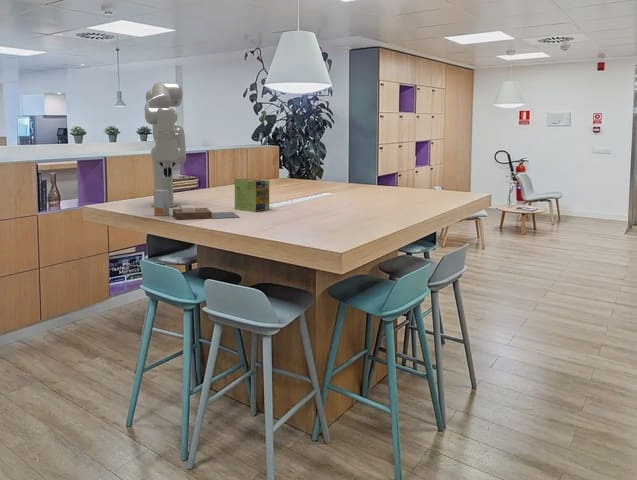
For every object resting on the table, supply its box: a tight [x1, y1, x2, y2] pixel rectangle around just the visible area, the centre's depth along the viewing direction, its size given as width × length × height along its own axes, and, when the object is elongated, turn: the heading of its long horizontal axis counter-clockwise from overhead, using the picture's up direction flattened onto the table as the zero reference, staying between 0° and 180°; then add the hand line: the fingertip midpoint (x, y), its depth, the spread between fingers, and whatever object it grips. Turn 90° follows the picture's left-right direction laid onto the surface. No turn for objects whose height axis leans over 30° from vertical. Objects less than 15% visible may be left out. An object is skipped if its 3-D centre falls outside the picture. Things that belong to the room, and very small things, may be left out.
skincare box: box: [152, 189, 170, 217], centre depth 265 cm, size 6×4×12 cm
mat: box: [212, 211, 241, 220], centre depth 268 cm, size 16×13×1 cm
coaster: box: [179, 204, 197, 212], centre depth 261 cm, size 9×6×2 cm, turn 21°
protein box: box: [234, 178, 270, 213], centre depth 287 cm, size 10×15×16 cm
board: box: [172, 207, 213, 221], centre depth 262 cm, size 14×16×3 cm
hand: (167, 176), depth 255 cm, fingers closed
